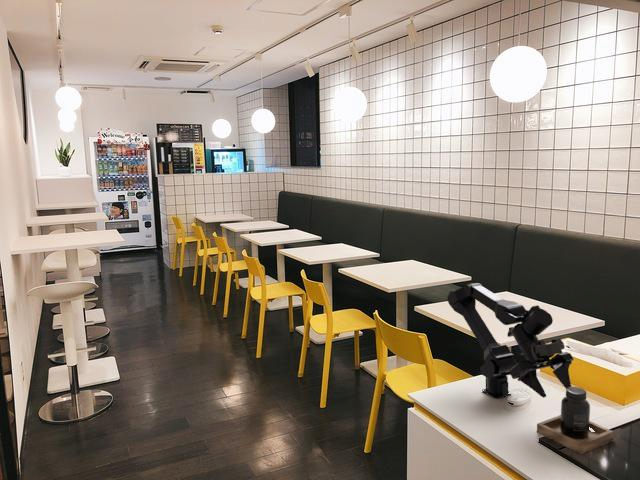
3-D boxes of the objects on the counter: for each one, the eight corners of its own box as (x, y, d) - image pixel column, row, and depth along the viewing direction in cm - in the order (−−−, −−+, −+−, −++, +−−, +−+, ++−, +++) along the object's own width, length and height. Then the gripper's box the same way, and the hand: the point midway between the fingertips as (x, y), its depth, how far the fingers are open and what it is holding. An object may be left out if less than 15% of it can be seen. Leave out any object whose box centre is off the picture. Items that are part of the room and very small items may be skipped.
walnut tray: (536, 432, 139) (537, 423, 138) (568, 420, 144) (569, 411, 144) (580, 454, 127) (580, 445, 127) (613, 440, 133) (613, 431, 133)
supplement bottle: (591, 431, 136) (594, 389, 135) (585, 442, 131) (588, 398, 129) (563, 423, 141) (565, 382, 139) (556, 434, 135) (559, 391, 134)
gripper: (518, 334, 139) (548, 388, 130) (569, 324, 146) (601, 375, 137) (497, 353, 147) (525, 404, 139) (547, 342, 154) (576, 391, 146)
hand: (557, 393), depth 140 cm, fingers open, 9 cm apart
